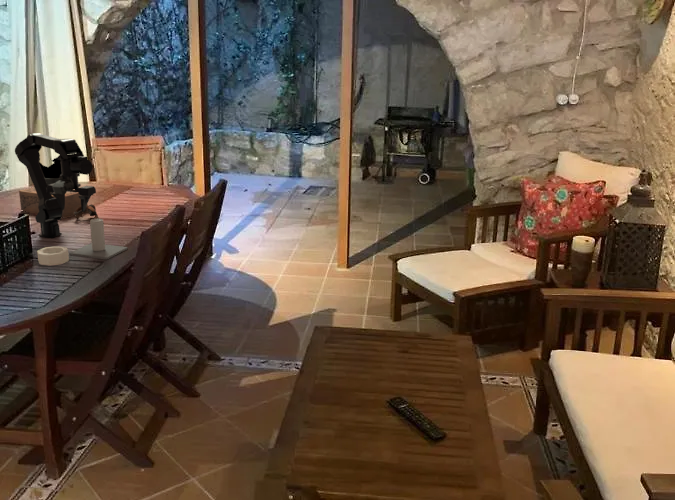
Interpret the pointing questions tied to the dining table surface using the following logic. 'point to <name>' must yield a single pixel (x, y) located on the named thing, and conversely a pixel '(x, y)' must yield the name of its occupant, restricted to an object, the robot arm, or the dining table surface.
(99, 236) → the beverage can
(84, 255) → the rubber mat
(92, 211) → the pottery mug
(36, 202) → the tissue box cover
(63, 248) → the holder ring
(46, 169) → the coal bowl
